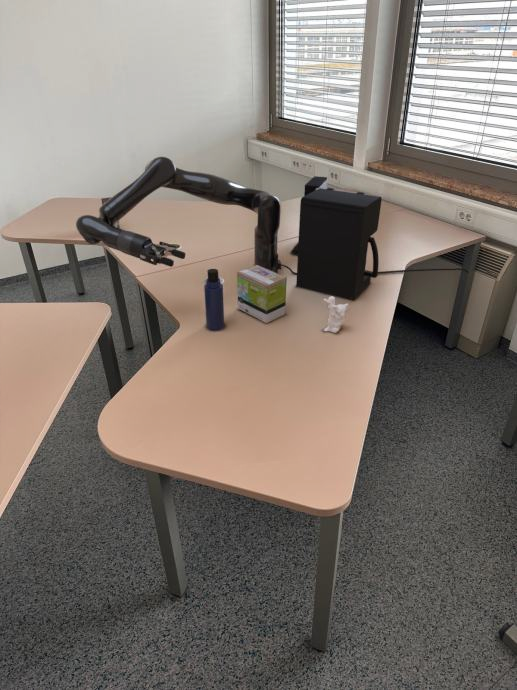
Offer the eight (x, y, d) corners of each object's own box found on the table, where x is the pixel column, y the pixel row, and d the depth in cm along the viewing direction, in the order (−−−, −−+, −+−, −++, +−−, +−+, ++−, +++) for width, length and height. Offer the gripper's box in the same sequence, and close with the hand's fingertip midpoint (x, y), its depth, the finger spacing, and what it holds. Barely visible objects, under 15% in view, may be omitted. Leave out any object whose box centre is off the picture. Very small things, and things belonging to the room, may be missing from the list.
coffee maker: (380, 284, 193) (394, 195, 175) (363, 303, 179) (376, 208, 161) (316, 270, 205) (322, 186, 187) (295, 286, 191) (300, 197, 173)
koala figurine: (321, 334, 160) (323, 301, 153) (320, 324, 165) (323, 292, 159) (346, 335, 159) (350, 302, 153) (345, 325, 165) (349, 293, 158)
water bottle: (223, 321, 167) (221, 266, 156) (225, 330, 162) (223, 273, 151) (206, 322, 166) (202, 267, 155) (207, 331, 161) (203, 275, 150)
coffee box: (121, 233, 246) (116, 201, 237) (108, 234, 243) (102, 202, 235) (118, 227, 253) (114, 196, 244) (105, 229, 251) (100, 197, 242)
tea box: (236, 309, 174) (235, 271, 167) (256, 301, 180) (256, 263, 173) (266, 324, 165) (267, 284, 157) (286, 314, 171) (287, 275, 163)
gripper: (123, 239, 151) (170, 255, 148) (146, 228, 163) (190, 243, 160) (121, 261, 154) (167, 277, 152) (144, 249, 166) (186, 264, 164)
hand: (179, 259), depth 156 cm, fingers open, 8 cm apart
